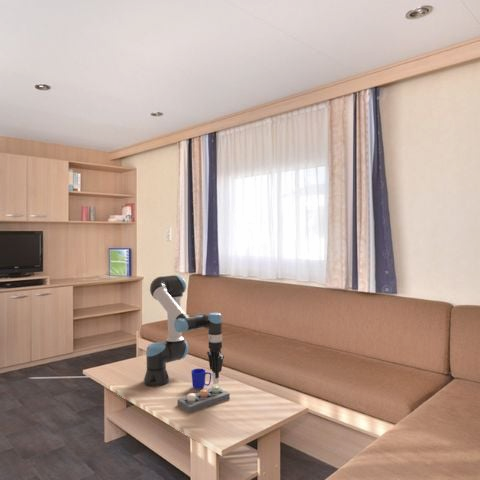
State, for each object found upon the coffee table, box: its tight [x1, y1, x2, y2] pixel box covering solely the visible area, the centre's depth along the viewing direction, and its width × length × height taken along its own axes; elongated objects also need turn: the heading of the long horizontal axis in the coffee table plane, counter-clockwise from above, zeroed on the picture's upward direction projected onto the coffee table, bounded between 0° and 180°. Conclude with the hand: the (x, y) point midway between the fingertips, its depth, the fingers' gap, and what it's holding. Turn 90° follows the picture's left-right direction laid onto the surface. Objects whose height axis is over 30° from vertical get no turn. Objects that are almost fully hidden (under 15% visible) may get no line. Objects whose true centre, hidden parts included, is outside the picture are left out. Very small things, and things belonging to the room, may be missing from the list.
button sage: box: [211, 385, 221, 394], centre depth 217 cm, size 4×4×3 cm
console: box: [177, 388, 231, 413], centre depth 212 cm, size 12×26×3 cm, turn 130°
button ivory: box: [186, 392, 196, 402], centre depth 207 cm, size 4×4×3 cm
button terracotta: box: [199, 388, 209, 398], centre depth 212 cm, size 4×4×3 cm
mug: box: [190, 368, 212, 390], centre depth 231 cm, size 8×12×10 cm
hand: (215, 383), depth 217 cm, fingers closed
